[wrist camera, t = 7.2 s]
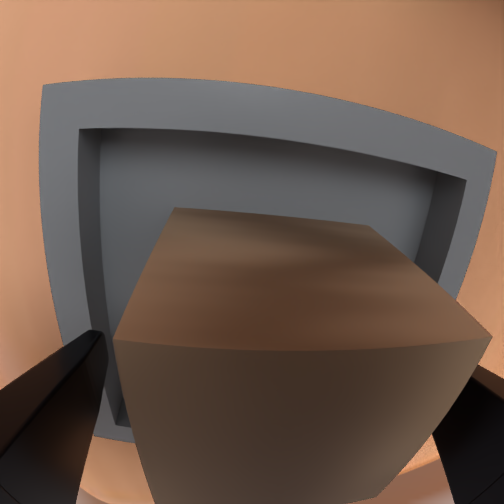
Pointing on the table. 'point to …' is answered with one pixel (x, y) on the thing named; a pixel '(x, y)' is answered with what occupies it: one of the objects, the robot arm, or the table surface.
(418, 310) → the cube
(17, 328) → the table surface
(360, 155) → the tray
